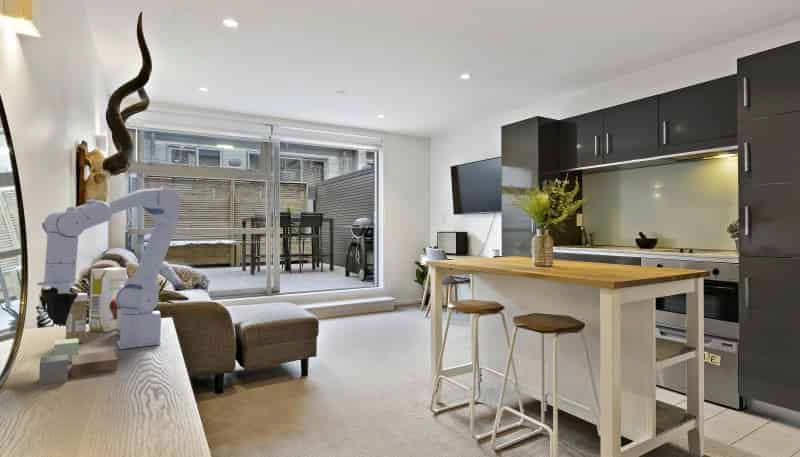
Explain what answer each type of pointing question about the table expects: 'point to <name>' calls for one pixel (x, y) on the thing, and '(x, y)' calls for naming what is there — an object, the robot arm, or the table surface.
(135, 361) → the table surface
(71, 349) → the sage block
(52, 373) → the grey block
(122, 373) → the table surface
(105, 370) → the walnut block
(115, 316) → the juice carton
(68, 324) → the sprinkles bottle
